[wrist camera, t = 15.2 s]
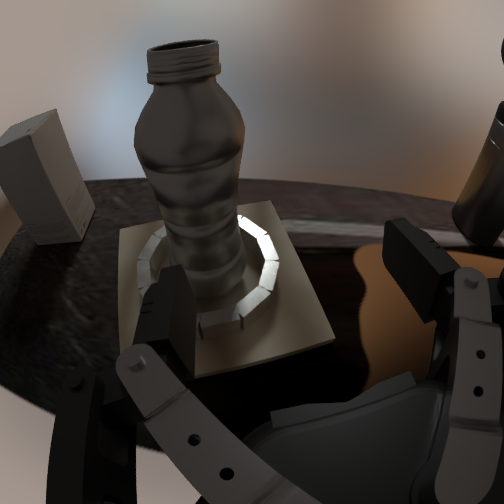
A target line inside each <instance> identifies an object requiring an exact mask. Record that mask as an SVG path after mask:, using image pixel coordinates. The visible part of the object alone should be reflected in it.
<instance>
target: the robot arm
mask: <svg viewBox="0 0 504 504" xmlns="http://www.w3.org/2000/svg"><path fill="white" fill-rule="evenodd" d="M501 56H502V61H503V63H504V39H503V42H502V48H501ZM452 215H453V218H454V221H455V222H456V224H457V226H458V227H459V229H460V230H461V231H462V232H463V233H464V234H465V235H466V236H467V237H468V238H469V239H471V240H472V241H473V242H475V243H477V244H478V245H481V246H484V247H490V246H492V245H493V244H494V243H495V241H496V240H497V239H498V237H499V236H500V235H501V233H502V232H503V230H504V101H502V102H501V103H500V104H499V106H498V109H497V112H496V115H495V118H494V121H493V123H492V126H491V128H490V131H489V134H488V136H487V139H486V141H485V143H484V146H483V148H482V151H481V153H480V155H479V157H478V160H477V162H476V164H475V166H474V168H473V170H472V172H471V175H470V176H469V178H468V180H467V182H466V184H465V186H464V189H463V190H462V192H461V194H460V196H459V198H458V200H457V201H456V203H455V205H454V207H453V209H452ZM382 257H383V262H384V265H385V267H386V269H387V270H388V271H389V273H390V274H391V276H392V277H393V278H394V280H395V281H396V282H397V284H398V285H399V287H400V288H401V289H402V291H403V292H404V294H405V295H406V297H407V298H408V300H409V301H410V303H411V304H412V306H413V307H414V308H415V310H416V312H417V313H418V315H419V316H420V318H421V319H422V321H423V322H424V324H425V323H428V322H430V321H433V320H435V321H436V322H437V325H436V327H435V332H434V340H433V347H432V354H431V360H430V365H429V369H428V373H427V375H426V378H425V379H414V378H413V376H412V374H411V372H410V371H409V372H406V373H404V374H401V375H399V376H396V377H393V378H391V379H388V380H385V381H383V382H380V383H378V384H377V385H375V386H373V387H372V388H370V389H369V390H367V391H365V392H364V393H362V394H361V395H359V396H357V397H356V398H354V399H352V400H350V401H348V402H344V403H323V404H305V405H300V406H296V407H291V408H287V409H282V410H277V411H271V412H270V413H271V419H272V420H271V421H269V422H267V423H265V424H263V425H261V426H259V427H258V428H256V429H255V430H253V431H252V432H251V433H249V434H248V435H247V436H246V437H245V438H244V439H243V440H242V441H240V440H239V439H238V438H237V437H236V436H235V435H234V434H233V433H231V432H230V431H229V430H228V429H227V428H226V427H225V426H224V425H223V424H222V423H221V422H220V421H219V420H218V419H217V418H216V417H215V416H214V415H213V414H212V413H211V412H210V411H209V410H208V409H207V408H206V407H205V406H204V405H203V404H202V403H201V402H200V401H199V400H198V399H197V398H196V396H195V395H194V394H193V393H192V392H191V391H190V390H189V389H188V388H186V387H185V381H191V380H195V347H196V320H197V304H196V299H195V296H194V293H193V290H192V288H191V286H190V283H189V281H188V278H187V276H186V273H185V271H184V268H183V266H182V265H181V264H179V265H174V266H169V267H165V268H162V269H161V271H160V275H159V279H158V282H157V283H153V284H151V285H150V287H149V288H148V289H147V291H146V292H145V294H144V297H143V301H142V306H141V309H140V315H139V317H138V321H137V326H136V330H135V334H134V339H133V343H132V346H130V347H128V348H127V349H125V350H124V351H123V352H122V353H121V354H120V356H119V357H118V359H117V362H116V366H113V367H111V368H109V369H106V370H103V371H101V372H98V373H95V372H94V371H93V370H92V369H91V368H90V367H88V366H78V367H76V368H74V369H72V370H71V371H70V372H69V373H68V374H67V376H66V377H65V379H64V381H63V385H62V389H61V393H60V397H59V402H58V407H57V412H56V417H55V423H54V429H53V434H52V441H51V447H50V455H49V464H48V474H47V489H46V504H137V492H136V427H137V423H139V422H142V421H144V424H145V425H146V427H147V429H148V430H149V432H150V433H151V434H152V436H153V437H154V439H155V440H156V441H157V443H158V444H159V445H160V447H161V448H162V449H163V451H164V452H165V453H166V454H167V456H168V457H169V458H170V460H171V461H172V462H173V463H174V464H175V466H176V467H177V468H178V469H179V470H180V472H181V473H182V474H183V475H184V476H185V478H186V479H187V480H188V481H189V482H190V483H191V484H192V486H193V487H194V488H195V489H196V490H197V491H198V492H199V493H200V494H201V495H202V496H201V497H200V498H199V499H198V501H197V502H196V504H504V413H503V412H501V411H500V406H501V393H502V372H503V373H504V268H503V269H502V272H501V274H500V277H499V278H488V279H487V278H486V277H485V276H484V275H483V274H482V273H481V272H480V271H478V270H476V269H474V268H470V267H462V268H461V267H460V266H459V265H458V263H457V262H456V261H455V260H454V259H453V258H452V257H451V256H450V255H449V254H448V253H447V252H446V251H445V250H444V249H443V248H441V246H440V245H439V244H438V243H437V242H435V240H434V239H433V238H432V237H431V236H430V235H429V234H428V233H427V232H425V231H423V230H421V229H419V228H417V227H414V226H413V225H412V224H411V223H410V222H409V221H407V220H406V219H405V218H398V219H393V220H389V221H386V223H385V227H384V239H383V251H382Z"/></svg>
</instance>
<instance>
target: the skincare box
mask: <svg viewBox="0 0 504 504" xmlns="http://www.w3.org/2000/svg"><path fill="white" fill-rule="evenodd" d="M0 186H1V188H2V190H3V192H4V194H5V195H6V197H7V199H8V200H9V202H10V204H11V205H12V207H13V208H14V210H15V212H16V213H17V215H18V216H19V218H20V219H21V221H22V223H23V224H24V226H25V227H26V229H27V230H28V232H29V233H30V235H31V236H32V237H33V239H34V240H35V242H36V243H37V245H47V244H57V243H69V242H80V241H82V239H83V237H84V234H85V232H86V229H87V227H88V224H89V222H90V219H91V217H92V215H93V212H94V210H95V205H94V203H93V201H92V199H91V197H90V195H89V192H88V190H87V188H86V186H85V183H84V181H83V179H82V177H81V174H80V172H79V169H78V167H77V165H76V162H75V160H74V157H73V155H72V152H71V149H70V147H69V144H68V142H67V139H66V136H65V133H64V131H63V128H62V125H61V122H60V119H59V116H58V113H57V109H53V110H50V111H47V112H45V113H42V114H40V115H37V116H35V117H32V118H30V119H27V120H25V121H23V122H20V123H18V124H15V125H13V126H11V127H10V128H9V129H8V130H7V131H6V132H5V133H4V134H3V135H2V136H1V137H0Z"/></svg>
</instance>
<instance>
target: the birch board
mask: <svg viewBox="0 0 504 504" xmlns="http://www.w3.org/2000/svg"><path fill="white" fill-rule="evenodd" d="M237 214H238V215H240V216H242V218H243V217H245V218H247V219H248V220H250V221H251V222H253V223H254V224H255V225H257V226H258V227H260V228H261V229H263V230H264V231H265V232H267V235H269V236H270V239H271V241H272V243H273V246H274V248H275V250H276V253H277V255H278V257H279V269H278V275H277V280H276V284H275V288H274V292H273V296H272V300H271V304H270V306H269V308H268V309H267V310H266V311H265V312H264V313H263V314H262V315H261V316H260V317H259V318H258V319H256V320H255V321H254V322H253V323H252V324H251V325H250V326H249V327H248V328H246V329H245V330H243V329H241V328H240V329H241V332H240V333H236V334H232V335H227V336H223V337H218V338H214V339H209V340H205V338H204V335H203V337H202V340H199V339H196V347H195V379H196V378H201V377H206V376H211V375H216V374H220V373H225V372H229V371H233V370H238V369H242V368H246V367H250V366H254V365H258V364H262V363H265V362H269V361H273V360H276V359H280V358H283V357H287V356H290V355H294V354H297V353H300V352H304V351H307V350H310V349H313V348H316V347H319V346H322V345H325V344H328V343H331V342H333V340H334V339H335V336H334V333H333V331H332V329H331V327H330V324H329V322H328V320H327V318H326V316H325V313H324V311H323V309H322V307H321V305H320V302H319V300H318V298H317V296H316V294H315V291H314V289H313V287H312V285H311V283H310V281H309V279H308V276H307V274H306V272H305V270H304V268H303V266H302V264H301V262H300V260H299V258H298V255H297V253H296V251H295V249H294V247H293V245H292V243H291V241H290V239H289V237H288V235H287V233H286V231H285V229H284V227H283V225H282V223H281V221H280V219H279V217H278V215H277V213H276V211H275V209H274V207H273V205H272V203H271V201H270V200H269V201H263V202H257V203H251V204H245V205H239V206H237ZM164 226H165V224H164V221H163V220H160V221H156V222H151V223H146V224H142V225H137V226H132V227H128V228H124V229H120V239H119V261H118V317H119V339H120V353H122V352H123V351H124V350H125V349H127V348H128V347H130V346H132V343H133V339H134V334H135V330H136V326H137V321H138V317H139V315H140V309H141V306H142V301H143V298H142V296H141V294H140V292H139V290H138V283H137V261H139V260H138V257H139V255H140V253H141V252H142V250H143V248H144V247H145V245H146V244H147V242H148V240H149V239H150V237H151V236H152V235H155V234H154V232H156V231H158V230H159V229H161V228H162V227H164ZM245 251H246V258H247V261H246V267H245V271H244V274H243V277H242V279H241V281H240V282H239V284H238V285H237V286H236V287H235V288H234V289H233V290H232V291H230V292H229V293H227V294H225V295H223V296H220V297H216V298H209V299H204V298H197V297H195V299H196V304H197V313H205V312H210V311H215V310H219V309H224V308H228V307H233V306H235V305H236V304H237V303H239V302H240V301H241V300H242V299H243V298H245V297H246V296H247V295H248V294H249V293H250V292H252V291H253V290H254V289H255V288H256V287H257V286H258V285H259V281H260V278H261V275H262V270H261V268H260V265H259V262H258V260H257V257H256V255H255V254H253V253H252V252H251V251H249V250H248V249H247V248H246V247H245ZM169 266H170V262H169V254H168V255H167V256H166V258H165V260H164V262H163V263H162V265H161V267H160V269H159V271H158V273H157V275H156V283H157V282H158V279H159V275H160V271H161V269H162V268H165V267H169Z"/></svg>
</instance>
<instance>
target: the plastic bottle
mask: <svg viewBox="0 0 504 504" xmlns="http://www.w3.org/2000/svg"><path fill="white" fill-rule="evenodd" d="M147 62H148V73H147V81H148V83H149V84H152V85H154V89H153V93H152V94H151V96H150V98H149V100H148V101H147V103H146V105H145V106H144V108H143V110H142V112H141V114H140V117H139V119H138V122H137V124H136V126H135V135H134V148H135V151H136V153H137V157H138V159H139V161H140V163H141V165H142V168H143V170H144V172H145V175H146V177H147V179H148V181H149V183H150V186H151V188H152V190H153V192H154V195H155V198H156V201H157V204H158V207H159V209H160V212H161V215H162V218H163V221H164V224H165V229H166V234H167V240H168V245H169V262H170V266H174V265H179V264H181V265H182V266H183V268H184V271H185V273H186V276H187V278H188V281H189V283H190V286H191V288H192V290H193V293H194V296H195V297H197V298H204V299H209V298H216V297H220V296H223V295H225V294H227V293H229V292H230V291H232V290H233V289H234V288H235V287H236V286H237V285H238V284H239V282H240V281H241V279H242V277H243V274H244V271H245V267H246V261H247V258H246V251H245V247H244V243H243V240H242V237H241V235H240V228H239V221H238V214H237V197H238V177H239V170H240V164H241V157H242V151H243V144H244V135H245V126H244V122H243V119H242V116H241V113H240V111H239V109H238V108H237V106H236V105H235V103H234V102H233V101H232V99H231V98H230V97H229V96H228V94H227V93H226V92H225V91H224V90H223V89H222V88H221V87H220V85H219V84H218V83H217V82H216V77H215V76H216V75H218V74H220V72H221V64H220V63H219V44H218V41H217V40H209V39H208V40H207V39H202V40H188V41H180V42H174V43H168V44H164V45H160V46H156V47H153V48H150V49H148V50H147Z"/></svg>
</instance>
